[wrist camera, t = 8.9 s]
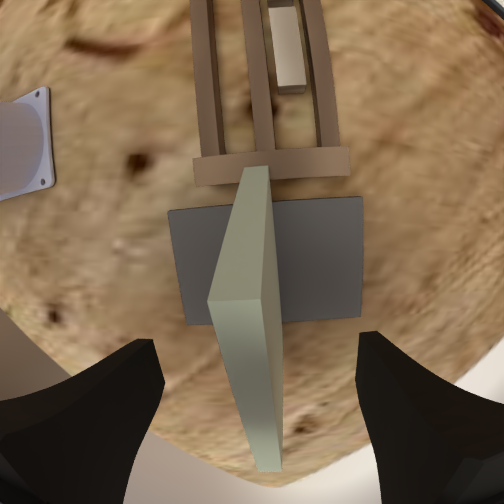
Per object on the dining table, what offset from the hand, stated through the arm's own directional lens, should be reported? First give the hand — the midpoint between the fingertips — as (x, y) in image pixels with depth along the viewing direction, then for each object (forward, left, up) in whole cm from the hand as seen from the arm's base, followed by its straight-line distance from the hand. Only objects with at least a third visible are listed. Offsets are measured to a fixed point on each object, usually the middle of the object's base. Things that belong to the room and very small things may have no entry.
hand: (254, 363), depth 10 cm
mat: (0, 0, -10) cm, 10 cm away
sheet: (0, 0, -9) cm, 9 cm away
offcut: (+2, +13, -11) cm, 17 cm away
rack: (+1, +16, -10) cm, 19 cm away
